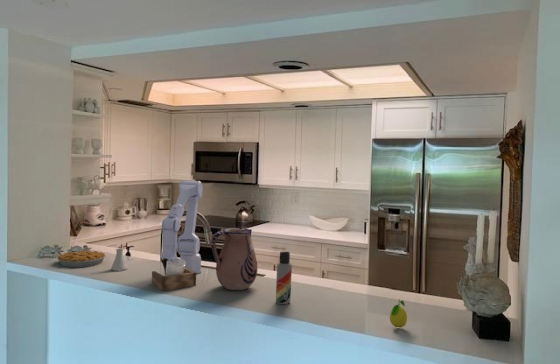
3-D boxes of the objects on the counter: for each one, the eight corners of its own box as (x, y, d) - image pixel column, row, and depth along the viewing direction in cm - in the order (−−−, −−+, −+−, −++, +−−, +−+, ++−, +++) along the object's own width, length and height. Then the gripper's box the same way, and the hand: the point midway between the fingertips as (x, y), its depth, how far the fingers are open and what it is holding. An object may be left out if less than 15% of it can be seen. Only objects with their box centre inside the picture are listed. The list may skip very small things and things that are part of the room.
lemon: (403, 325, 147) (405, 296, 147) (411, 331, 141) (412, 301, 141) (385, 325, 146) (386, 296, 146) (391, 332, 140) (392, 301, 140)
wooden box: (183, 279, 195) (184, 267, 194) (195, 285, 186) (196, 272, 186) (151, 284, 185) (152, 271, 185) (162, 290, 176) (163, 277, 176)
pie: (114, 261, 225) (114, 252, 225) (80, 270, 205) (80, 259, 205) (82, 256, 233) (83, 247, 233) (47, 264, 213) (47, 254, 213)
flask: (130, 269, 209) (130, 248, 209) (117, 272, 203) (118, 251, 203) (120, 267, 213) (121, 247, 213) (107, 269, 207) (108, 249, 207)
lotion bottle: (279, 305, 163) (281, 253, 162) (273, 301, 168) (275, 250, 167) (293, 303, 166) (295, 252, 165) (286, 299, 171) (287, 249, 170)
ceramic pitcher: (265, 288, 185) (267, 230, 184) (227, 298, 169) (229, 235, 168) (238, 280, 197) (239, 225, 196) (200, 288, 181) (202, 229, 180)
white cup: (173, 289, 181) (177, 269, 179) (159, 282, 185) (162, 261, 182) (185, 283, 188) (189, 263, 185) (172, 275, 192) (175, 255, 189)
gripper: (154, 243, 191) (152, 273, 191) (168, 248, 180) (166, 281, 180) (169, 242, 195) (167, 272, 195) (183, 247, 184) (182, 279, 184)
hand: (168, 276), depth 188 cm, fingers closed, pressing on white cup
